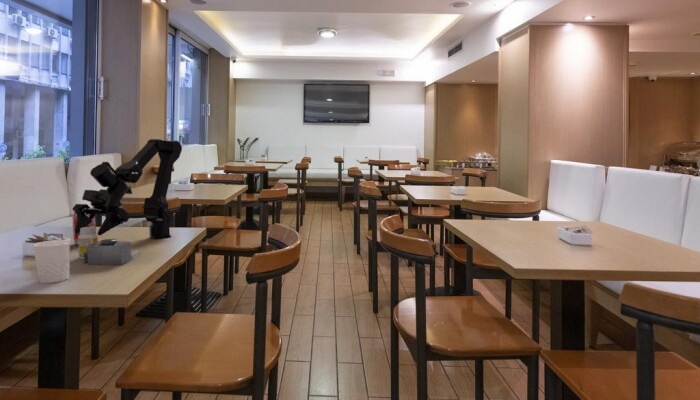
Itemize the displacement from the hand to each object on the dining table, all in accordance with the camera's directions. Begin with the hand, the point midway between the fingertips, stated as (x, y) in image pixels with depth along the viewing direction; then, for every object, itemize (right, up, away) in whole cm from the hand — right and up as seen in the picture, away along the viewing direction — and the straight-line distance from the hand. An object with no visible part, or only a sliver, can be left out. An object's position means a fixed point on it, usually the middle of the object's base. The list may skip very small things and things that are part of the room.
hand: (87, 233), depth 139 cm
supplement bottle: (0, -8, +1) cm, 8 cm away
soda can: (-13, -5, +20) cm, 25 cm away
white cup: (+5, -11, -22) cm, 25 cm away
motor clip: (+9, -8, -2) cm, 12 cm away
